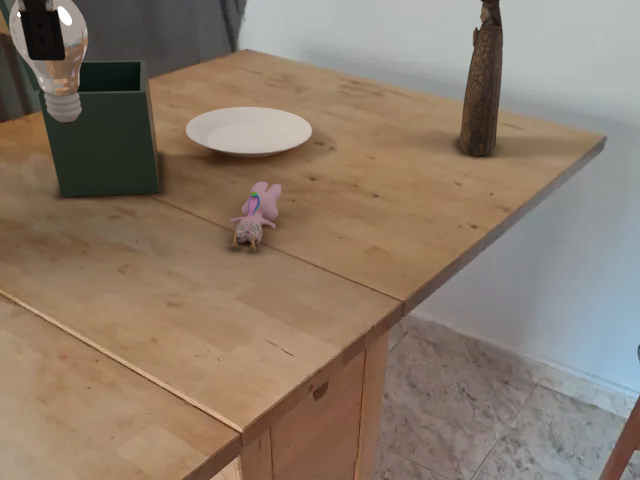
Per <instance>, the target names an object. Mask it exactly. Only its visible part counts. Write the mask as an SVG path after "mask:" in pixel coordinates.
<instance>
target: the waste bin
mask: <svg viewBox="0 0 640 480" xmlns="http://www.w3.org/2000/svg"><path fill="white" fill-rule="evenodd" d="M148 73H149V72H148V64H147V59H134V60H133V59H131V60H130V59H128V60H125V59H124V60H123V59H122V60H121V59H119V60H83V62H82V65H81V68H80V73H79V78H80V84H79V88H78V91H77V93H78V94H79V100H80V103H81V104H80V106H81V109H82V111H81V113H80V114H79V116H78V117H77V119H76V120H75V121H74V122H73V123H72V124H70V125H63V124H61V123H60V122H59V121H57V120H56V119H55V118H53V117H52V116H51V115H50V114H49V113H48V111H47V105H46V100H45V97H44V94H45V93H44V91H43V90H42V89H40V90H38V91H39V92H38V100H39V105H40V110H41V113H42V118H43V123H44V126H45V130H46V136H47V139H48V144H49V149H50V153H51V156H52V162H53V166H54V169H55V175H56V179H57V183H58V187H59V191H60V196H61V198H74V197H75V198H76V197H97V196H98V197H99V196H100V197H101V196H119V195H120V196H121V195H124V196H125V195H143V194H145V195H146V194H147V195H148V194H159V193H160V185H159V183H160V181H159V179H160V178H159V152H158V144H157V135H156V126H155V120H154V112H153V103H152V95H151V88H150V80H149V74H148Z"/></svg>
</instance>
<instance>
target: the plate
mask: <svg viewBox="0 0 640 480" xmlns="http://www.w3.org/2000/svg"><path fill="white" fill-rule="evenodd" d="M185 133H186V135H187V137H188V138H189V139H190V140H191V141H192V142H194V143H195V144H197V145H199V146H202V147H204V148H207V149H210V150H212V151H214V152H215V151H216V152H218V153H221V154H222V155H227V156H231V157H236V158H237V157H238V158H251V159H253V158H265V157H270V156H274V155H279V154H281V153H283V152H286V151H287V150H290V149H294V148H297V147H299V146H301V145H302V144H304V143H306V142H307V141H308V140H309V139H311V137H312V134H313V128H312V126H311V124H310V123H309V122H308V121H307V120H306V119H304V118H303V117H301V116H299V115H298V114H295V113H291V112H289V111H286V110H280V109H276V108H269V107H261V106H235V107H225V108H218V109H215V110H211V111H210V110H209V111H207V112H204V113H202V114H199V115H197V116H195V117H194V118H192V119H191V120H189V121H188V123H187V124H186V126H185Z"/></svg>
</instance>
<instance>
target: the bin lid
mask: <svg viewBox="0 0 640 480" xmlns="http://www.w3.org/2000/svg"><path fill="white" fill-rule="evenodd" d="M15 1H16V0H0V12H1V15H2V17H3V19H4V22H5V24H6V27H7V29H8V32H9V35H10V37H11V38H12V36H11V33H10V26H9V19H10V13H11V9H12V7H13V5H14V3H15ZM15 49H16V52H17V53H18V56H19V58H20V61H21V63H22V66H23V68H24V71H25V73H26V75H27V78H28V81H29V83H30V85H31V88H32V90H33V92H37V91H40V89H41V87H40V85H39V83H38V80H37V77H36V75H35V73H34V72H33V70H32V69H31V67H30V66H29V65H28V63H27V62H26V61H25V60H24V59H23V57H22V56H21V55H20V53H19V52H18V50H17V48H16V47H15Z"/></svg>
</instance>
